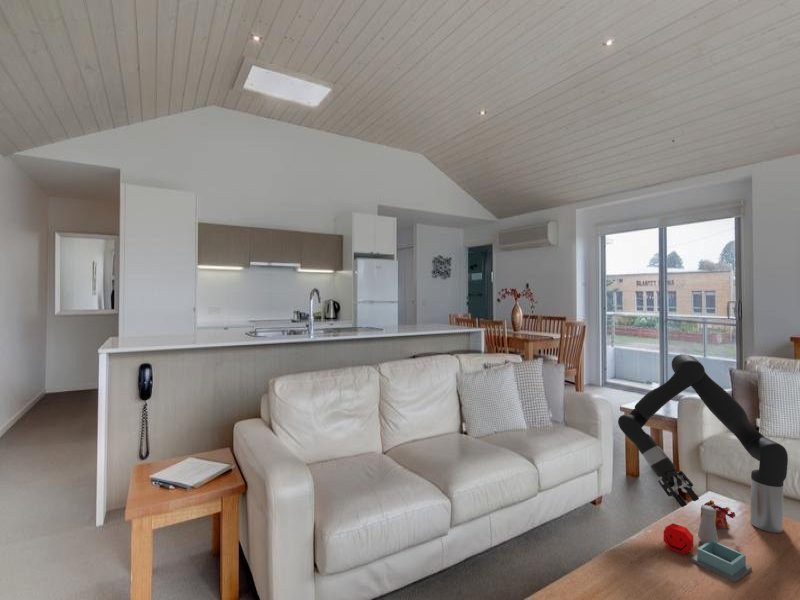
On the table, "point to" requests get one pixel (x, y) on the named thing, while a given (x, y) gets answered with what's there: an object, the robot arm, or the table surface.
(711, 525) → the salt shaker
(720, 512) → the book monster
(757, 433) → the robot arm
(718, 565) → the stand
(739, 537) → the table surface
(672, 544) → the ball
